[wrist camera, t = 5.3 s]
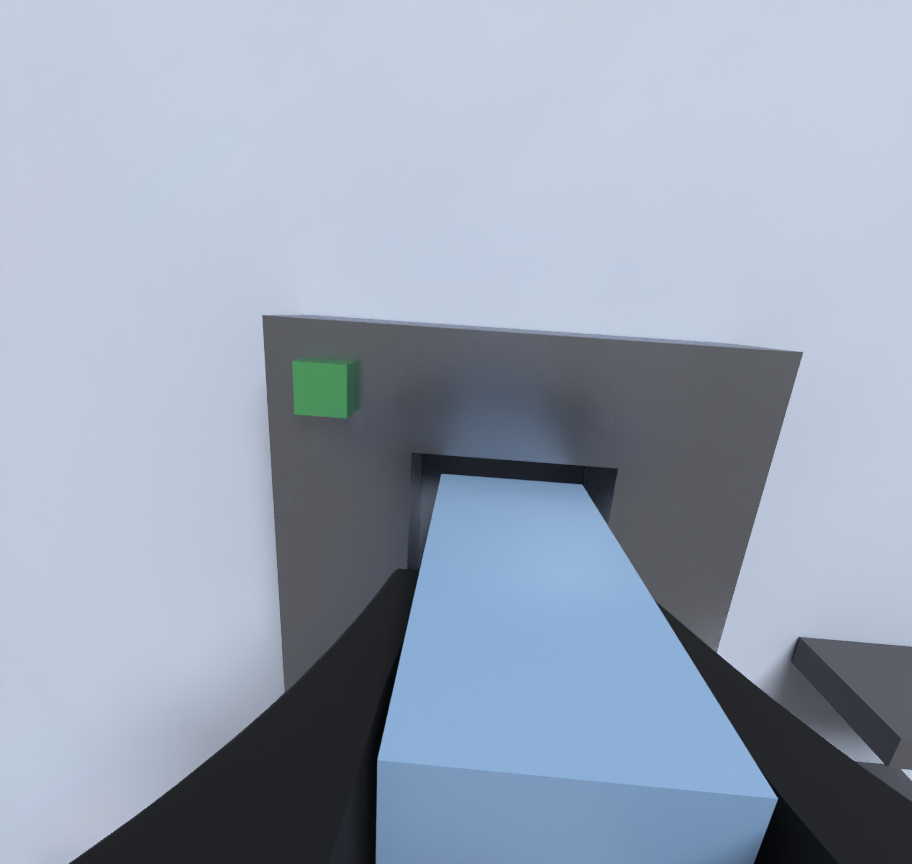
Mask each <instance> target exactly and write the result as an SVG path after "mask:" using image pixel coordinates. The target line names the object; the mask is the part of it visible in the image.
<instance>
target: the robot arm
mask: <svg viewBox="0 0 912 864" xmlns="http://www.w3.org/2000/svg"><path fill="white" fill-rule="evenodd" d="M419 572H420V570H411V569H399V568H398V569H397V570H396V571H394V572H393V573H392V574H391V576H390V577H389V578H388V580H387V581H386V582H385V584H384V585H383V586H382V588H381V589H380V590H379V592H378V593H377V594H376V595H375V597H374V598H373V599H372V600H371V602H370V603H369V604H368V605H367V606H366V608H365V609H364V610H363V611H362V613H361V614H360V615H359V616H358V617H357V618H356V619H355V620H354V622H353V623H352V624H351V625H350V626H349V627H348V628H347V630H346V631H345V632H344V633H343V634H342V635H341V636H340V637H339V639H338V640H337V641H336V642H335V643H334V644H333V645H332V646H331V647H330V648H329V649H328V650H327V651H326V652H325V653H324V654H323V655H322V656H321V657H320V658H319V659H318V660H317V661H316V662H315V664H314V665H313V666H312V667H311V668H310V669H309V670H308V671H307V672H306V673H305V674H304V675H303V676H302V677H301V678H300V679H299V680H298V681H297V682H296V683H295V684H294V685H293V686H292V687H291V688H289V689H288V690H287V691H286V692H285V693H284V694H283V695H282V696H281V697H280V698H279V699H278V700H277V701H276V702H274V703H273V704H272V705H271V706H270V707H269V708H268V709H267V710H266V711H265V712H263V713H262V714H261V715H260V716H259V717H258V718H257V719H255V720H254V721H253V722H252V723H251V724H250V725H249V726H247V727H246V728H245V729H244V730H243V731H242V732H241V733H239V734H238V735H237V736H236V737H235V738H234V739H232V740H231V741H230V742H229V743H228V744H226V745H225V746H224V747H223V748H221V749H220V750H219V751H218V752H217V753H215V754H214V755H213V756H212V757H210V758H209V759H208V760H207V761H205V762H204V763H203V764H202V765H200V766H199V767H198V768H197V769H196V770H194V771H193V772H192V773H191V774H189V775H188V776H187V777H186V778H184V779H183V780H182V781H181V782H179V783H178V784H177V785H176V786H174V787H173V788H172V789H170V790H169V791H168V792H167V793H165V794H164V795H163V796H161V797H160V798H159V799H157V800H156V801H155V802H154V803H152V804H151V805H150V806H148V807H147V808H146V809H144V810H143V811H142V812H140V813H139V814H138V815H136V816H135V817H134V818H132V819H131V820H129V821H128V822H127V823H125V824H124V825H122V826H121V827H120V828H118V829H117V830H115V831H114V832H113V833H111V834H110V835H108V836H107V837H106V838H104V839H103V840H101V841H100V842H99V843H97V844H96V845H94V846H93V847H92V848H90V849H89V850H87V851H86V852H85V853H83V854H82V855H80V856H79V857H78V858H76V859H75V860H73V861H72V862H71V863H69V864H376V818H377V760H378V755H379V751H380V746H381V742H382V737H383V733H384V728H385V724H386V719H387V715H388V710H389V706H390V702H391V697H392V693H393V688H394V684H395V679H396V675H397V670H398V666H399V661H400V657H401V652H402V648H403V643H404V639H405V634H406V630H407V625H408V621H409V616H410V612H411V608H412V603H413V599H414V594H415V590H416V585H417V581H418V576H419ZM654 601H655V600H654ZM655 602H656V601H655ZM656 604H657V605H658V607H659V609H660V610H661V612H662V613H663V615H664V617H665V618H666V620H667V622H668V623H669V625H670V626H671V628H672V630H673V631H674V633H675V634H676V636H677V638H678V639H679V641H680V642H681V644H682V646H683V647H684V649H685V650H686V652H687V654H688V655H689V657H690V658H691V660H692V662H693V663H694V665H695V666H696V668H697V670H698V671H699V673H700V674H701V676H702V678H703V679H704V681H705V683H706V684H707V686H708V687H709V689H710V691H711V692H712V694H713V695H714V697H715V699H716V700H717V702H718V703H719V705H720V707H721V708H722V710H723V711H724V713H725V715H726V716H727V718H728V719H729V721H730V723H731V724H732V726H733V727H734V729H735V731H736V732H737V734H738V735H739V737H740V739H741V740H742V742H743V744H744V745H745V747H746V748H747V750H748V752H749V753H750V755H751V756H752V758H753V760H754V761H755V763H756V764H757V766H758V768H759V769H760V771H761V772H762V774H763V776H764V777H765V779H766V780H767V782H768V784H769V785H770V787H771V788H772V790H773V792H774V793H775V795H776V796H777V798H778V800H777V803H776V805H775V808H774V811H773V813H772V816H771V819H770V821H769V824H768V827H767V829H766V832H765V835H764V837H763V840H762V843H761V846H760V848H759V851H758V854H757V856H756V859H755V862H754V864H912V801H910V800H909V799H907V798H906V797H904V796H903V795H902V794H900V793H899V792H897V791H896V790H894V789H893V788H892V787H890V786H889V785H887V784H886V783H885V782H883V781H882V780H880V779H879V778H877V777H876V776H875V775H873V774H872V773H870V772H869V771H867V770H866V769H865V768H863V767H862V766H860V765H859V764H857V763H856V762H855V761H853V760H852V759H851V758H849V757H848V756H847V755H845V754H844V753H842V752H841V751H840V750H838V749H837V748H836V747H834V746H833V745H832V744H830V743H829V742H828V741H826V740H825V739H824V738H822V737H821V736H820V735H818V734H817V733H816V732H814V731H813V730H812V729H811V728H809V727H808V726H807V725H805V724H804V723H803V722H802V721H800V720H799V719H798V718H796V717H795V716H794V715H792V714H791V713H790V712H789V711H787V710H786V709H785V708H783V707H782V706H781V705H780V704H778V703H777V702H776V701H774V700H773V699H772V698H771V697H769V696H768V695H767V694H766V693H764V692H763V691H762V690H761V689H760V688H758V687H757V686H756V685H755V684H753V683H752V682H751V681H750V680H748V679H747V678H746V677H745V676H744V675H742V674H741V673H740V672H739V671H737V670H736V669H735V668H734V667H733V666H731V665H730V664H729V663H728V662H727V661H726V660H724V659H723V658H722V657H721V656H720V655H718V654H717V653H716V652H715V651H714V650H712V649H711V648H710V647H709V646H708V645H707V644H705V643H704V642H703V641H702V640H701V639H700V638H698V637H697V636H696V635H695V634H694V633H693V632H691V631H690V630H689V629H688V628H687V627H686V626H684V625H683V624H682V623H681V622H680V621H679V620H677V619H676V618H675V617H674V616H673V615H672V614H670V613H669V612H668V611H667V610H666V609H665V608H663V607H662V606H661V605H660V604H659V603H657V602H656Z"/></svg>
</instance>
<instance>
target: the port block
mask: <svg viewBox="0 0 912 864" xmlns="http://www.w3.org/2000/svg"><path fill="white" fill-rule="evenodd" d="M262 317H263V334H264V351H265V367H266V384H267V401H268V418H269V434H270V451H271V468H272V484H273V501H274V518H275V534H276V551H277V568H278V584H279V601H280V618H281V634H282V651H283V668H284V684H285V692H286V691H287V690H288V689H289V688H291V687H292V686H293V685H294V684H295V683H296V682H297V681H298V680H299V679H300V678H301V677H302V676H303V675H304V674H305V673H306V672H307V671H308V670H309V669H310V668H311V667H312V666H313V665H314V664H315V662H316V661H317V660H318V659H319V658H320V657H321V656H322V655H323V654H324V653H325V652H326V651H327V650H328V649H329V648H330V647H331V646H332V645H333V644H334V643H335V642H336V641H337V640H338V639H339V637H340V636H341V635H342V634H343V633H344V632H345V631H346V630H347V628H348V627H349V626H350V625H351V624H352V623H353V622H354V620H355V619H356V618H357V617H358V616H359V615H360V614H361V613H362V611H363V610H364V609H365V608H366V606H367V605H368V604H369V603H370V602H371V600H372V599H373V598H374V597H375V595H376V594H377V593H378V592H379V590H380V589H381V588H382V586H383V585H384V584H385V582H386V581H387V580H388V578H389V577H390V576H391V574H392V573H393V572H394V571H396V570H397V569H398V568H399V569H411V570H420V569H418V551H419V529H420V507H421V485H422V463H423V453H424V454H437V455H450V456H463V457H476V458H489V459H502V460H515V461H528V462H541V463H554V464H567V465H580V466H585V472H584V478H583V487H584V488H585V490H586V492H587V493H588V495H589V496H590V498H591V500H592V501H593V503H594V504H595V506H596V508H597V509H598V511H599V512H600V514H601V516H602V517H603V519H604V520H605V522H606V524H607V525H608V527H609V528H610V530H611V532H612V533H613V535H614V536H615V538H616V540H617V541H618V543H619V544H620V546H621V548H622V549H623V551H624V553H625V554H626V556H627V557H628V559H629V561H630V562H631V564H632V565H633V567H634V569H635V570H636V572H637V573H638V575H639V577H640V578H641V580H642V581H643V583H644V585H645V586H646V588H647V589H648V591H649V593H650V594H651V596H652V597H653V599H654V600H655V601H656V602H657V603H659V604H660V605H661V606H662V607H663V608H665V609H666V610H667V611H668V612H669V613H670V614H672V615H673V616H674V617H675V618H676V619H677V620H679V621H680V622H681V623H682V624H683V625H684V626H686V627H687V628H688V629H689V630H690V631H691V632H693V633H694V634H695V635H696V636H697V637H698V638H700V639H701V640H702V641H703V642H704V643H705V644H707V645H708V646H709V647H710V648H711V649H712V650H714V651H715V652H716V653H717V649H718V646H719V642H720V639H721V635H722V632H723V628H724V625H725V621H726V618H727V614H728V611H729V608H730V604H731V601H732V597H733V594H734V590H735V587H736V583H737V580H738V576H739V573H740V569H741V566H742V562H743V559H744V556H745V552H746V549H747V545H748V542H749V538H750V535H751V531H752V528H753V524H754V521H755V517H756V514H757V510H758V507H759V504H760V500H761V497H762V493H763V490H764V486H765V483H766V479H767V476H768V472H769V469H770V465H771V462H772V458H773V455H774V452H775V448H776V445H777V441H778V438H779V434H780V431H781V427H782V424H783V420H784V417H785V413H786V410H787V406H788V403H789V400H790V396H791V393H792V389H793V386H794V382H795V379H796V375H797V372H798V368H799V365H800V361H801V358H802V354H803V352H796V351H788V350H779V349H771V348H762V347H754V346H745V345H737V344H725V343H710V342H696V341H681V340H666V339H652V338H637V337H622V336H608V335H593V334H578V333H564V332H549V331H534V330H520V329H505V328H490V327H476V326H461V325H446V324H432V323H417V322H402V321H388V320H373V319H358V318H344V317H329V316H314V315H262Z"/></svg>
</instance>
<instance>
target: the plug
mask: <svg viewBox="0 0 912 864" xmlns="http://www.w3.org/2000/svg"><path fill="white" fill-rule="evenodd" d="M777 800H778V798H777V796H776V795H775V793H774V792H773V790H772V788H771V787H770V785H769V784H768V782H767V780H766V779H765V777H764V776H763V774H762V772H761V771H760V769H759V768H758V766H757V764H756V763H755V761H754V760H753V758H752V756H751V755H750V753H749V752H748V750H747V748H746V747H745V745H744V744H743V742H742V740H741V739H740V737H739V735H738V734H737V732H736V731H735V729H734V727H733V726H732V724H731V723H730V721H729V719H728V718H727V716H726V715H725V713H724V711H723V710H722V708H721V707H720V705H719V703H718V702H717V700H716V699H715V697H714V695H713V694H712V692H711V691H710V689H709V687H708V686H707V684H706V683H705V681H704V679H703V678H702V676H701V674H700V673H699V671H698V670H697V668H696V666H695V665H694V663H693V662H692V660H691V658H690V657H689V655H688V654H687V652H686V650H685V649H684V647H683V646H682V644H681V642H680V641H679V639H678V638H677V636H676V634H675V633H674V631H673V630H672V628H671V626H670V625H669V623H668V622H667V620H666V618H665V617H664V615H663V613H662V612H661V610H660V609H659V607H658V605H657V604H656V602H655V601H654V599H653V597H652V596H651V594H650V593H649V591H648V589H647V588H646V586H645V585H644V583H643V581H642V580H641V578H640V577H639V575H638V573H637V572H636V570H635V569H634V567H633V565H632V564H631V562H630V561H629V559H628V557H627V556H626V554H625V553H624V551H623V549H622V548H621V546H620V544H619V543H618V541H617V540H616V538H615V536H614V535H613V533H612V532H611V530H610V528H609V527H608V525H607V524H606V522H605V520H604V519H603V517H602V516H601V514H600V512H599V511H598V509H597V508H596V506H595V504H594V503H593V501H592V500H591V498H590V496H589V495H588V493H587V492H586V490H585V488H584V487H583V485H581V484H568V483H555V482H542V481H529V480H516V479H503V478H490V477H477V476H464V475H451V474H441V478H440V482H439V487H438V491H437V496H436V500H435V505H434V509H433V513H432V518H431V522H430V527H429V531H428V536H427V540H426V545H425V549H424V554H423V558H422V563H421V567H420V572H419V576H418V581H417V585H416V590H415V594H414V599H413V603H412V608H411V612H410V616H409V621H408V625H407V630H406V634H405V639H404V643H403V648H402V652H401V657H400V661H399V666H398V670H397V675H396V679H395V684H394V688H393V693H392V697H391V702H390V706H389V710H388V715H387V719H386V724H385V728H384V733H383V737H382V742H381V746H380V751H379V755H378V760H377V818H376V864H754V862H755V859H756V856H757V854H758V851H759V848H760V846H761V843H762V840H763V837H764V835H765V832H766V829H767V827H768V824H769V821H770V819H771V816H772V813H773V811H774V808H775V805H776V803H777Z"/></svg>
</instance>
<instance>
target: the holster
mask: <svg viewBox="0 0 912 864" xmlns="http://www.w3.org/2000/svg"><path fill="white" fill-rule="evenodd" d="M792 662H793V664H794V665H795V666H796V667H797V668H798V669H799V670H800V671H801V672H802V673H803V675H804V676H805V677H806V678H807V679H808V680H809V681H810V682H811V683H812V684H813V686H814V687H815V688H816V689H817V690H818V691H819V692H820V693H821V694H822V695H823V697H824V698H825V699H826V700H827V701H828V702H829V703H830V704H831V705H832V707H833V708H834V709H835V710H836V711H837V712H838V713H839V714H840V715H841V716H842V718H843V719H844V720H845V721H846V722H847V723H848V724H849V725H850V726H851V727H852V729H853V730H854V731H855V732H856V733H857V734H858V735H859V736H860V737H861V738H862V740H863V741H864V742H865V743H866V744H867V745H868V746H869V747H870V748H871V750H872V751H873V752H874V753H875V754H876V755H877V756H878V757H879V758H880V759H881V761H882V762H883V763H884V764H885V765H881V764H870V763H860V762H856V763H857V764H859V765H860V766H862V767H863V768H865V769H866V770H867V771H869V772H870V773H872V774H873V775H875V776H876V777H877V778H879V779H880V780H882V781H883V782H885V783H886V784H887V785H889V786H890V787H892V788H893V789H894V790H896V791H897V792H899V793H900V794H902V795H903V796H904V797H906V798H907V799H909V800H910V801H912V781H911V780H910V779H909V778H908V777H907V776H906V775H905V773H904V772H903V771H902V770H901V769H908V770H912V647H906V646H895V645H883V644H872V643H860V642H849V641H837V640H826V639H814V638H803V637H800V639H799V641H798V644H797V647H796V650H795V653H794V656H793V658H792Z"/></svg>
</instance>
